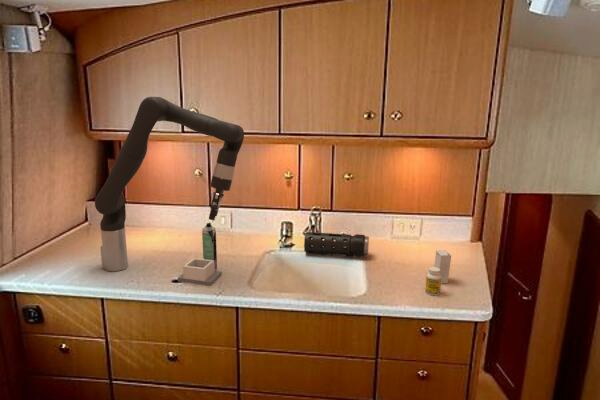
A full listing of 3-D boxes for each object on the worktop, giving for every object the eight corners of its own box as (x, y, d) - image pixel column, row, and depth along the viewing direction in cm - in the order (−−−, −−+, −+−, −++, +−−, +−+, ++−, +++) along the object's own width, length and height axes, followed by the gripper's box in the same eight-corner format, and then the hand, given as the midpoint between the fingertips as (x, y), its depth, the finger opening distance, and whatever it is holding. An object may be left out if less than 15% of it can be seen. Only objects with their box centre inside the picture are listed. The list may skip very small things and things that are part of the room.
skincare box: (432, 277, 198) (434, 249, 195) (443, 277, 198) (446, 249, 195) (437, 284, 192) (440, 255, 189) (448, 283, 193) (451, 254, 189)
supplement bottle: (439, 290, 187) (441, 266, 185) (440, 296, 182) (443, 272, 179) (424, 289, 188) (426, 265, 185) (425, 295, 183) (427, 271, 180)
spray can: (219, 269, 204) (218, 223, 199) (209, 272, 200) (207, 226, 195) (211, 265, 208) (209, 220, 202) (201, 269, 204) (199, 223, 198)
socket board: (177, 281, 192) (176, 265, 190) (190, 271, 202) (189, 256, 200) (210, 285, 188) (210, 270, 187) (221, 275, 198) (221, 260, 196)
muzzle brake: (306, 249, 227) (307, 228, 224) (368, 253, 223) (369, 232, 220) (303, 257, 218) (304, 235, 215) (367, 261, 214) (368, 239, 211)
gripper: (214, 172, 191) (205, 212, 193) (210, 175, 177) (200, 218, 179) (233, 177, 192) (224, 216, 194) (231, 180, 178) (220, 223, 180)
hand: (212, 217), depth 187 cm, fingers open, 8 cm apart
